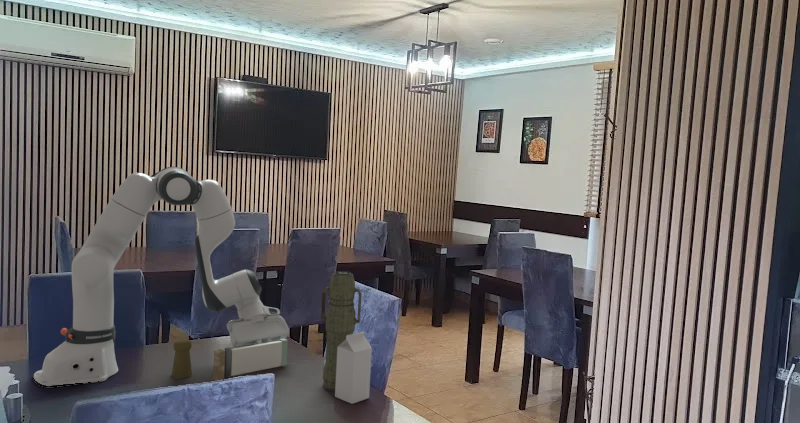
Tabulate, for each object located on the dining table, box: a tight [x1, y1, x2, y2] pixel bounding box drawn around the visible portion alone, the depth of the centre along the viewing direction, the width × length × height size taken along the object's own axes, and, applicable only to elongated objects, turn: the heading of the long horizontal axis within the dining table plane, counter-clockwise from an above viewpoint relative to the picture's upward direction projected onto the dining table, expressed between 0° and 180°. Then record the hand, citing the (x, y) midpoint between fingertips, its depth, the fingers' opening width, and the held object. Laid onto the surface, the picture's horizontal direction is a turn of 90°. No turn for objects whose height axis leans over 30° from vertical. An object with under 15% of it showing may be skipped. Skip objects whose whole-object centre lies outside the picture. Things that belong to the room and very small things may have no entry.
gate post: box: [212, 349, 225, 382], centre depth 189 cm, size 2×2×9 cm
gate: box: [224, 338, 288, 378], centre depth 198 cm, size 22×2×9 cm, turn 132°
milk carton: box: [334, 331, 373, 405], centre depth 180 cm, size 7×7×19 cm
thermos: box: [321, 270, 362, 392], centre depth 189 cm, size 9×12×35 cm
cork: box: [170, 338, 193, 379], centre depth 192 cm, size 6×6×11 cm
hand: (267, 352), depth 204 cm, fingers closed
